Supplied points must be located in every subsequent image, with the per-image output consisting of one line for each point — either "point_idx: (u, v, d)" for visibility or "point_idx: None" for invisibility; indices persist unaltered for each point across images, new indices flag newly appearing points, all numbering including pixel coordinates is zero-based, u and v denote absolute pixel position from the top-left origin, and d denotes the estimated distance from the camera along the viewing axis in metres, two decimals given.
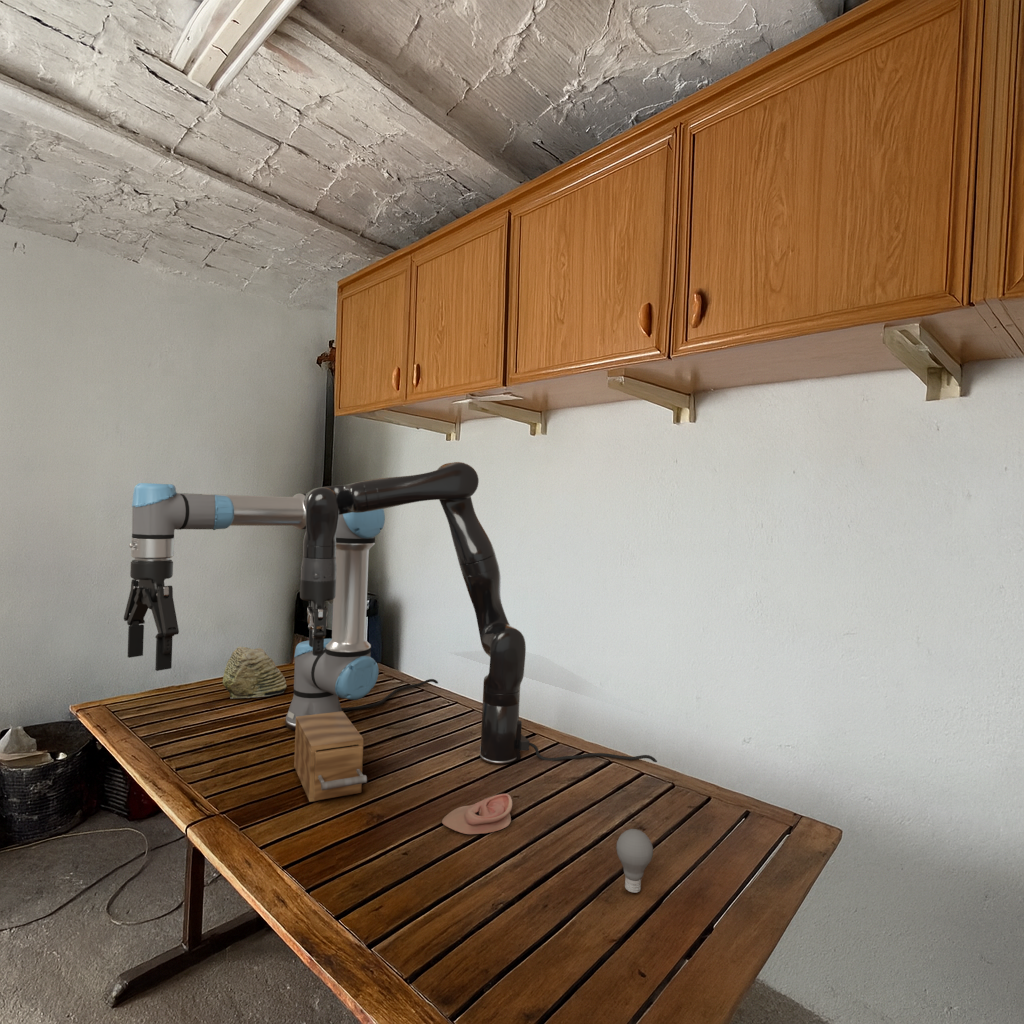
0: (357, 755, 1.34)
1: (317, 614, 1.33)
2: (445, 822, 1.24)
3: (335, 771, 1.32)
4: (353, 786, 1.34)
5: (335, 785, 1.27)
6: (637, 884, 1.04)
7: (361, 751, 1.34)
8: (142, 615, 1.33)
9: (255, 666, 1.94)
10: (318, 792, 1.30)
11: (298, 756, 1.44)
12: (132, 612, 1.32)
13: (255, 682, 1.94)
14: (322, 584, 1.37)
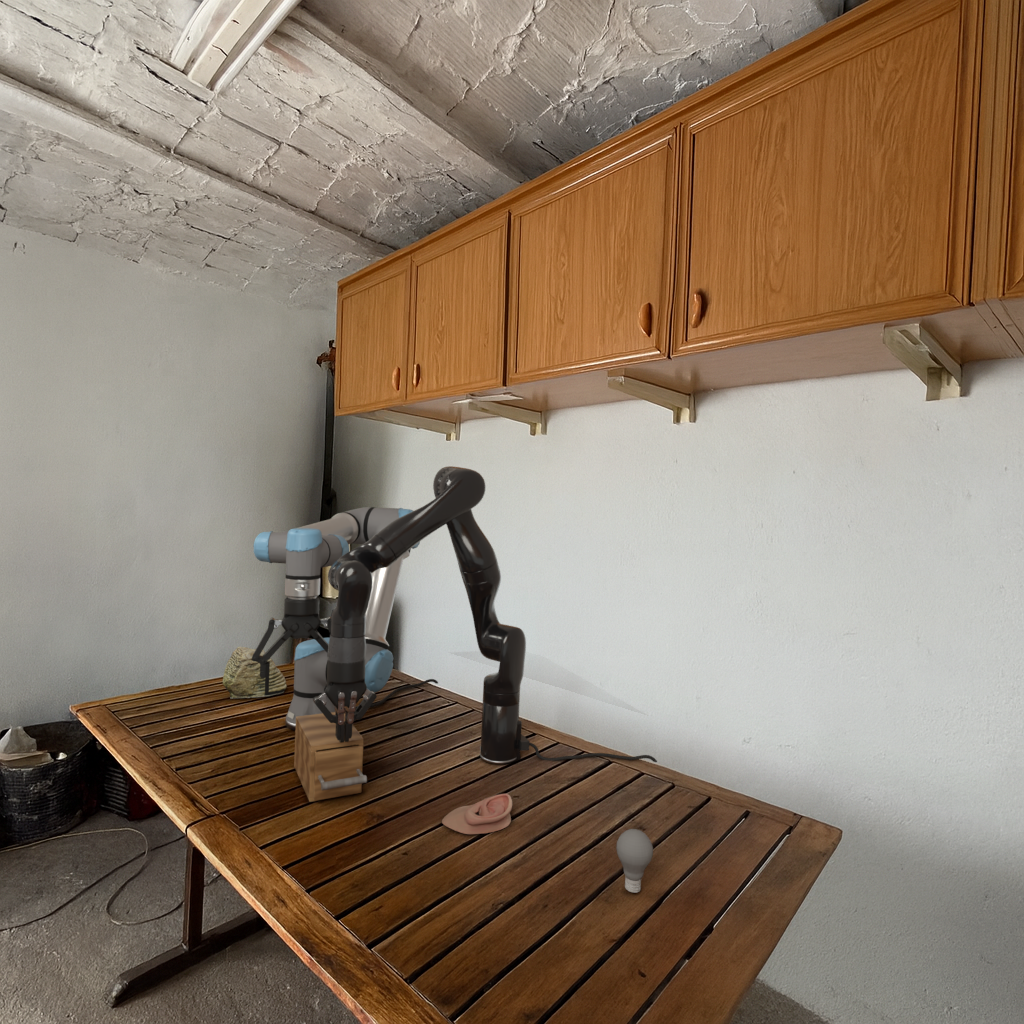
0: (357, 755, 1.34)
1: None
2: (445, 822, 1.24)
3: (335, 771, 1.32)
4: (353, 786, 1.34)
5: (335, 785, 1.27)
6: (637, 884, 1.04)
7: (361, 751, 1.34)
8: None
9: (255, 666, 1.94)
10: (318, 792, 1.30)
11: (298, 756, 1.44)
12: (272, 650, 1.40)
13: (255, 682, 1.94)
14: (328, 663, 1.27)
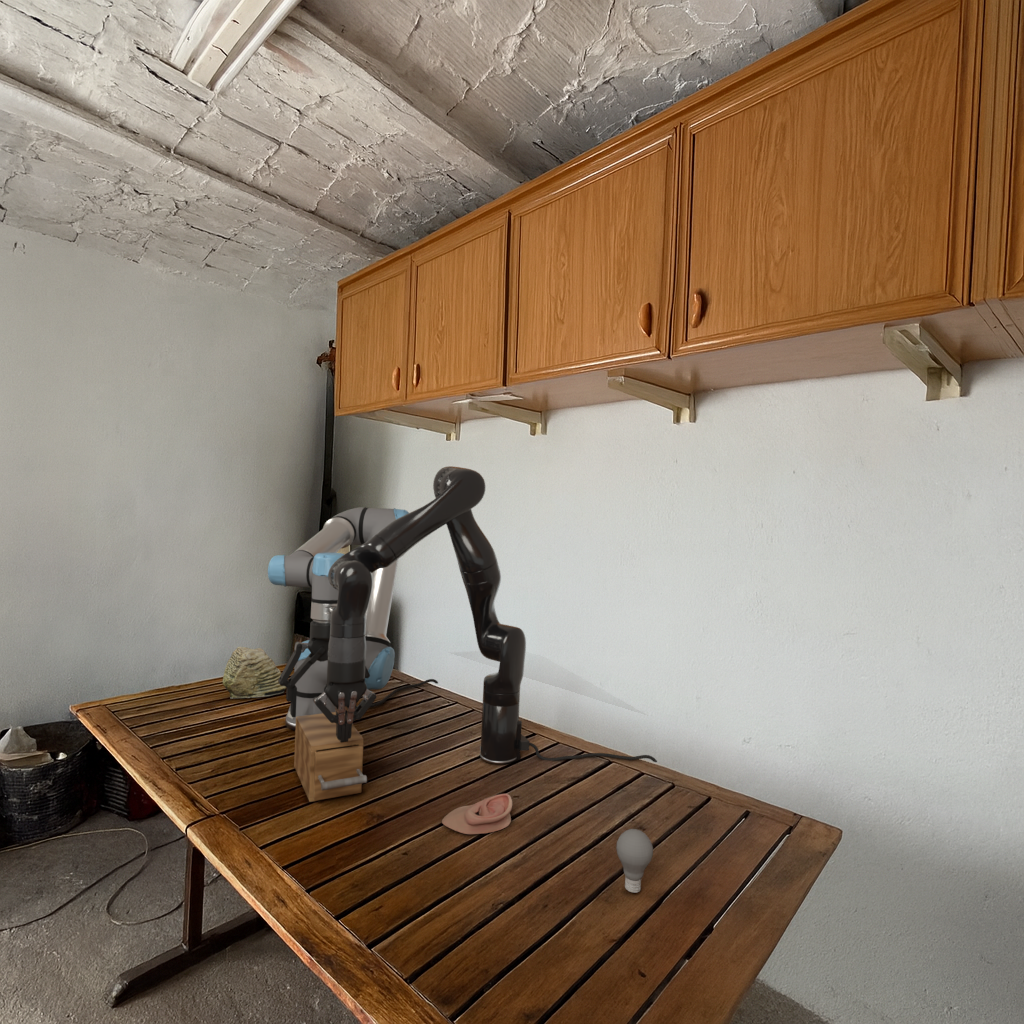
0: (357, 755, 1.34)
1: None
2: (445, 822, 1.24)
3: (335, 771, 1.32)
4: (353, 786, 1.34)
5: (335, 785, 1.27)
6: (637, 884, 1.04)
7: (361, 751, 1.34)
8: None
9: (255, 666, 1.94)
10: (318, 792, 1.30)
11: (298, 756, 1.44)
12: (300, 673, 1.42)
13: (255, 682, 1.94)
14: (328, 663, 1.27)
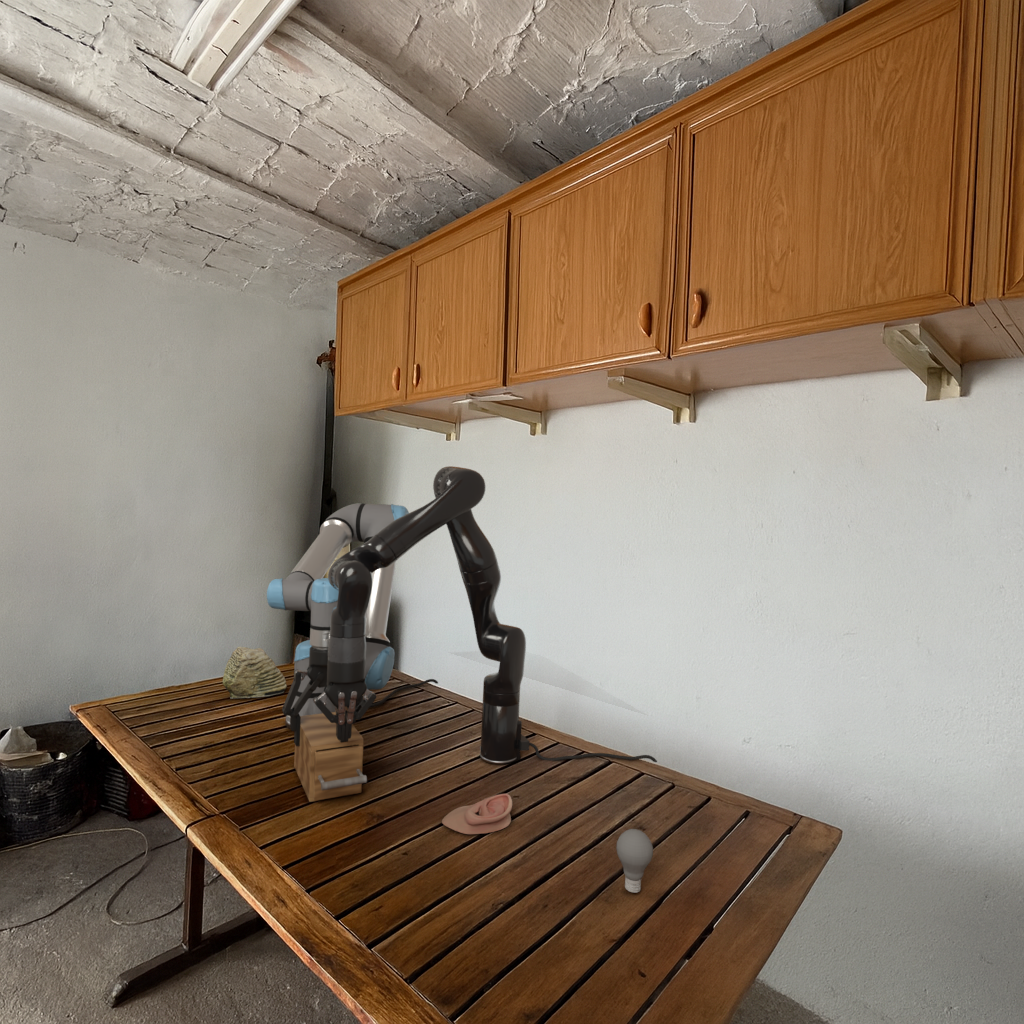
0: (357, 755, 1.34)
1: None
2: (445, 822, 1.24)
3: (335, 771, 1.32)
4: (353, 786, 1.34)
5: (335, 785, 1.27)
6: (637, 884, 1.04)
7: (361, 751, 1.34)
8: None
9: (255, 666, 1.94)
10: (318, 792, 1.30)
11: (298, 756, 1.44)
12: (302, 702, 1.43)
13: (255, 682, 1.94)
14: (328, 663, 1.27)
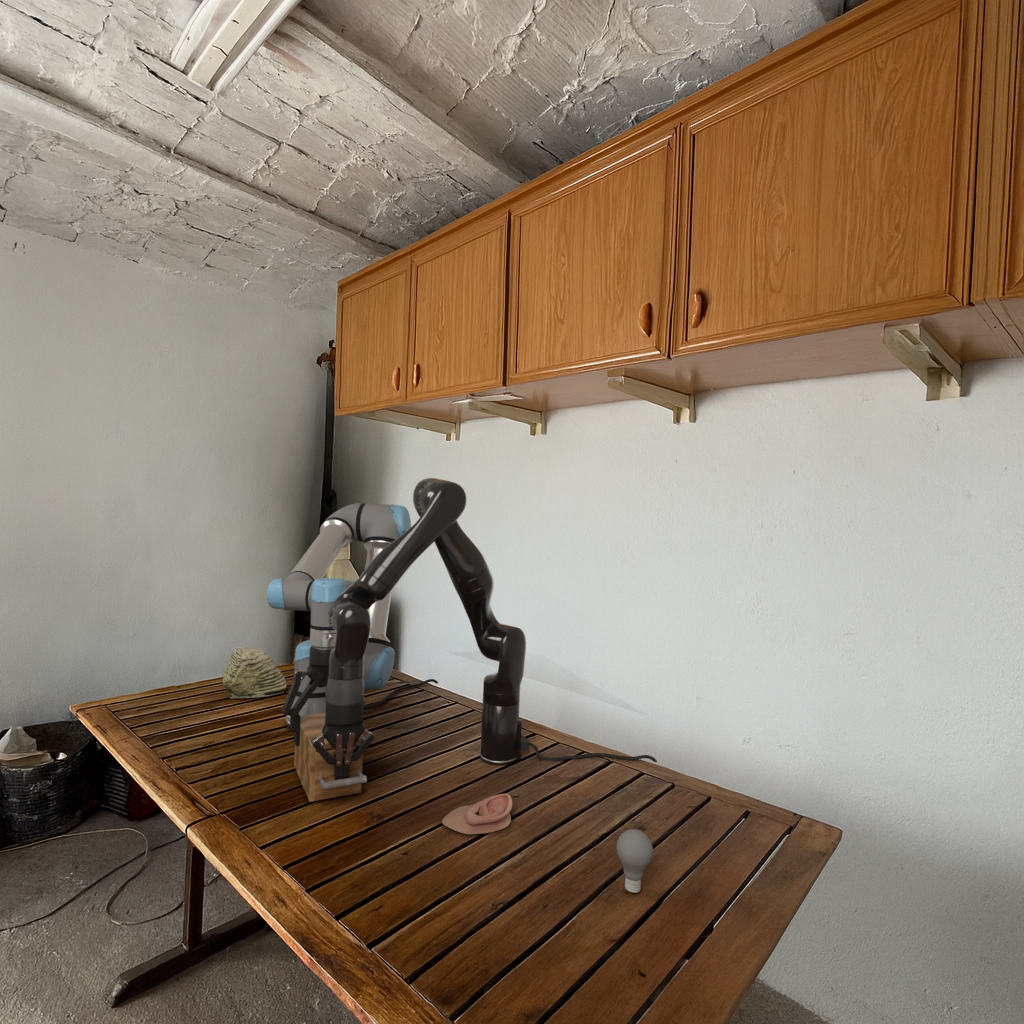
0: None
1: None
2: (445, 822, 1.24)
3: None
4: (353, 786, 1.34)
5: (335, 786, 1.27)
6: (637, 884, 1.04)
7: None
8: None
9: (255, 666, 1.94)
10: (318, 792, 1.30)
11: (298, 756, 1.44)
12: (302, 702, 1.43)
13: (255, 682, 1.94)
14: (326, 705, 1.27)
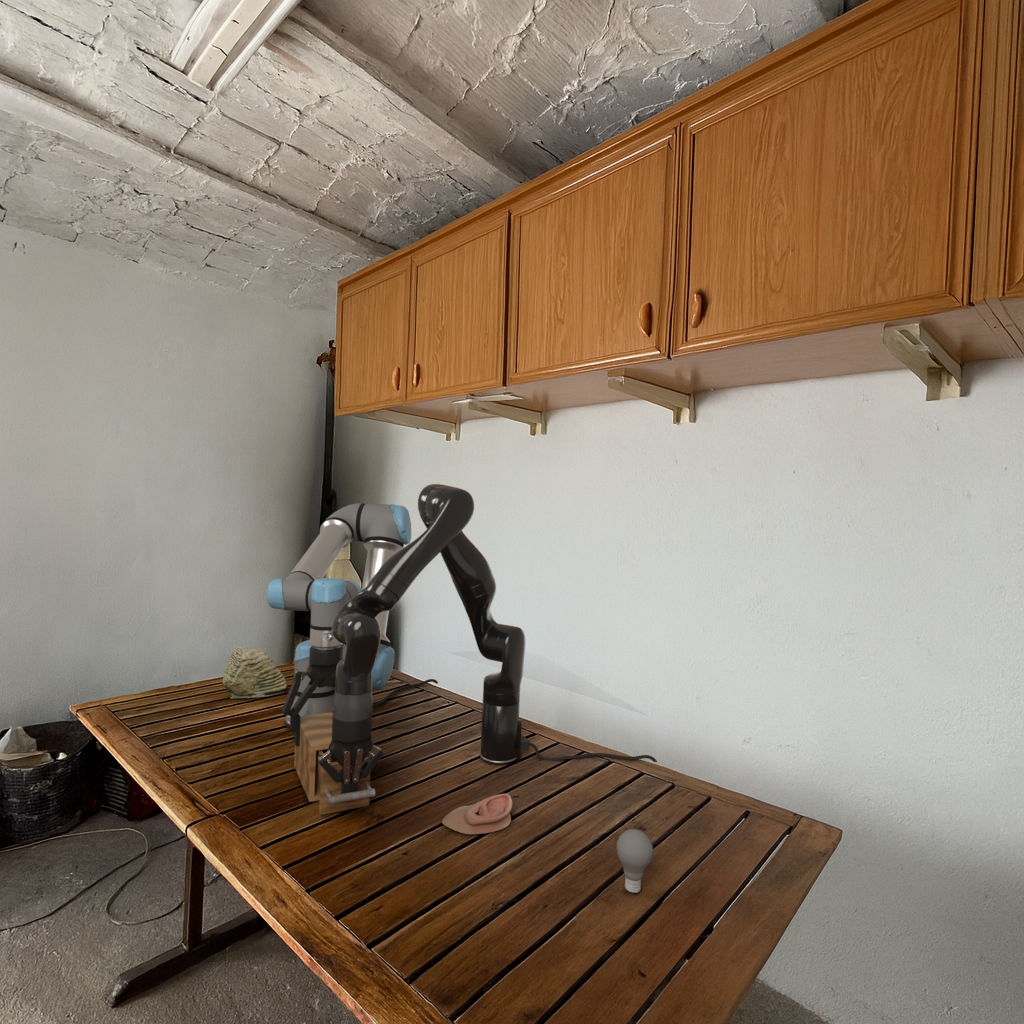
0: None
1: None
2: (445, 822, 1.24)
3: None
4: (361, 799, 1.28)
5: (343, 800, 1.21)
6: (637, 884, 1.04)
7: None
8: None
9: (255, 666, 1.94)
10: (324, 806, 1.25)
11: (298, 756, 1.44)
12: (302, 702, 1.43)
13: (255, 682, 1.94)
14: (333, 720, 1.21)
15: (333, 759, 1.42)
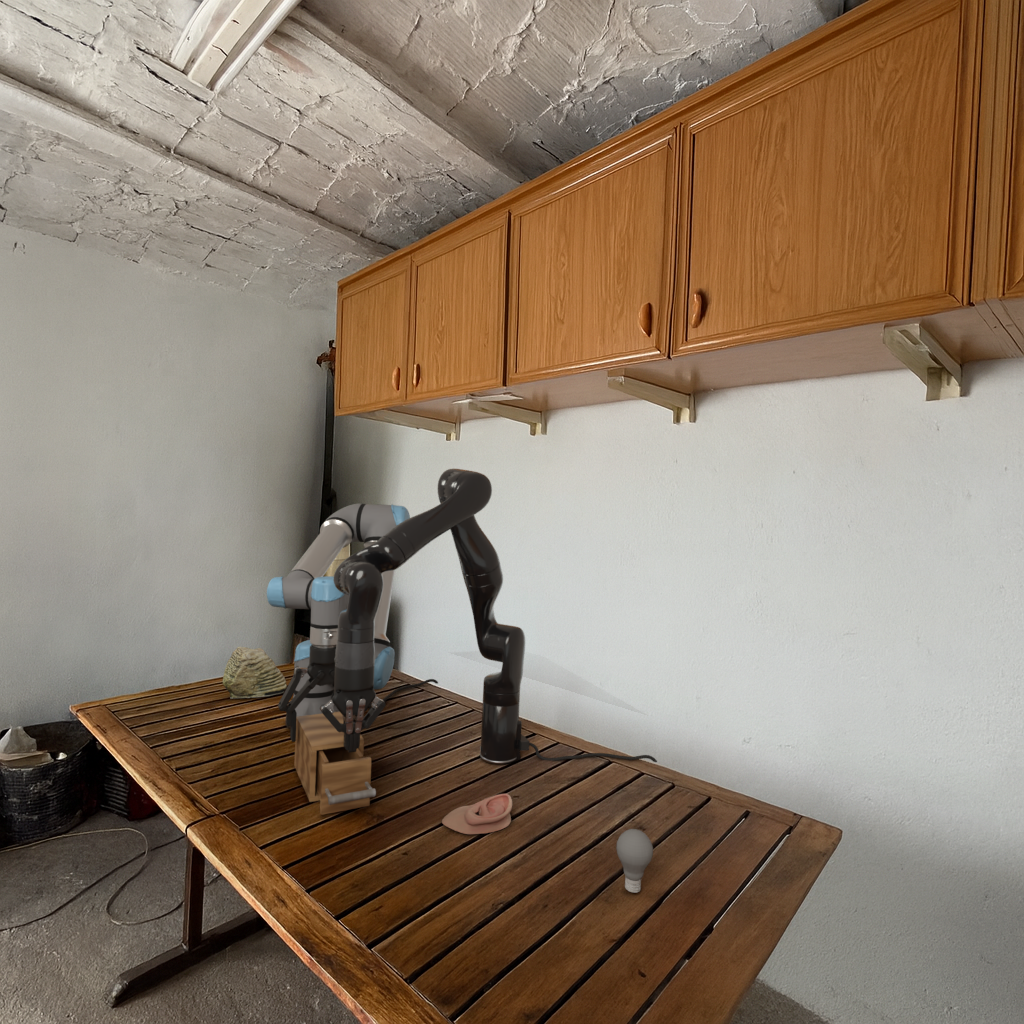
0: (365, 767, 1.28)
1: None
2: (445, 822, 1.24)
3: (343, 784, 1.26)
4: (361, 799, 1.28)
5: (343, 800, 1.21)
6: (637, 884, 1.04)
7: (370, 763, 1.28)
8: None
9: (255, 666, 1.94)
10: (325, 806, 1.25)
11: (298, 756, 1.43)
12: (300, 698, 1.43)
13: (255, 682, 1.94)
14: (336, 670, 1.21)
15: (333, 759, 1.42)
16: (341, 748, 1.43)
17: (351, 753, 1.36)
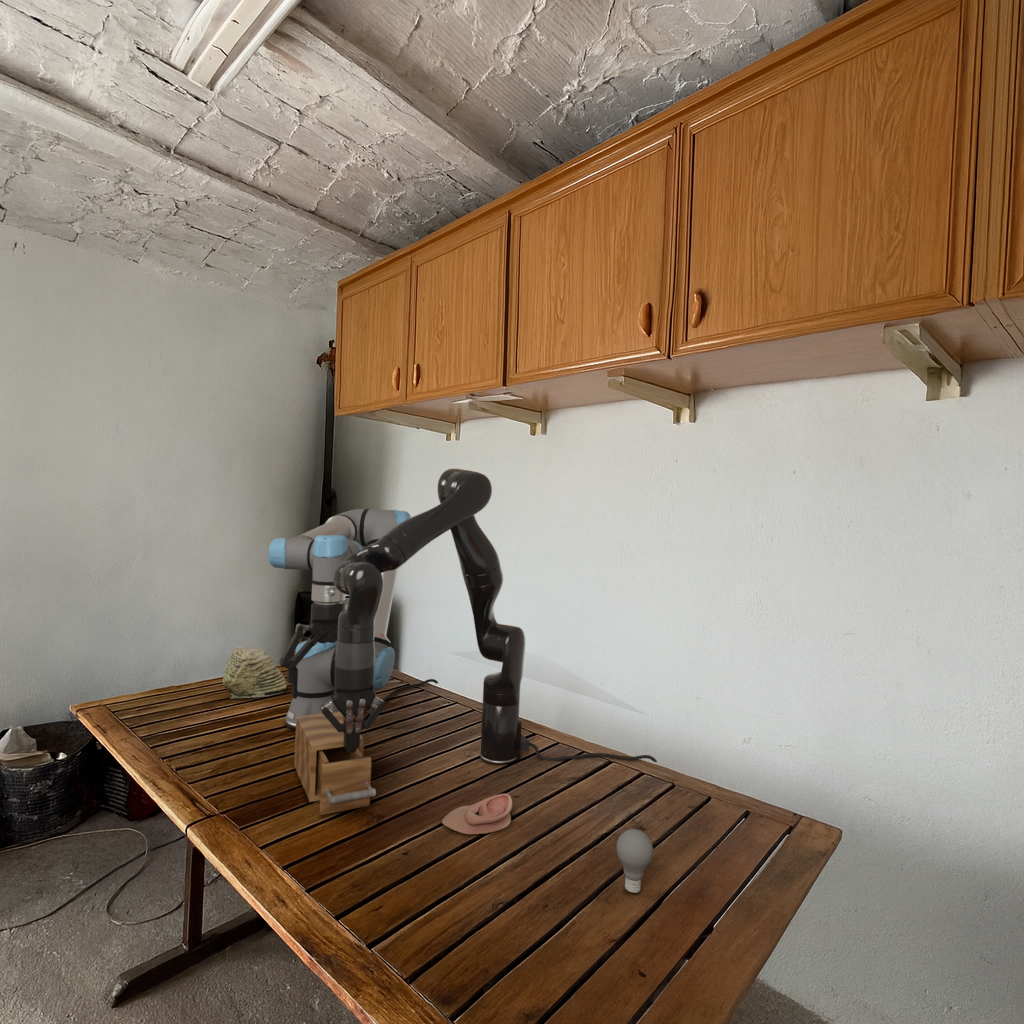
0: (365, 767, 1.28)
1: None
2: (445, 822, 1.24)
3: (343, 784, 1.26)
4: (361, 799, 1.28)
5: (343, 800, 1.21)
6: (637, 884, 1.04)
7: (370, 763, 1.28)
8: None
9: (255, 666, 1.94)
10: (325, 806, 1.25)
11: (298, 756, 1.43)
12: (301, 655, 1.42)
13: (255, 682, 1.94)
14: (336, 670, 1.21)
15: (333, 759, 1.42)
16: (341, 748, 1.43)
17: (351, 753, 1.36)
